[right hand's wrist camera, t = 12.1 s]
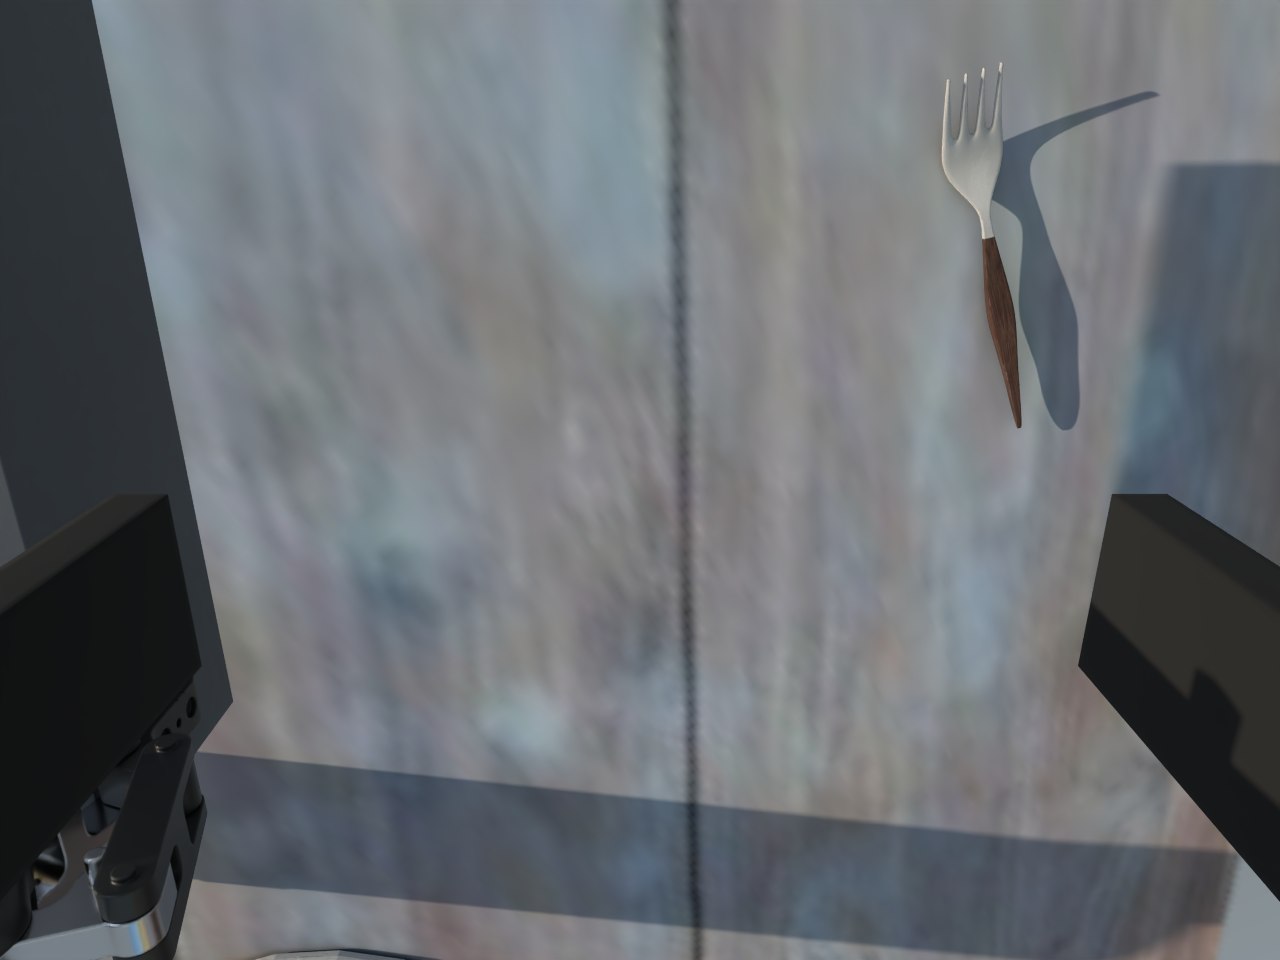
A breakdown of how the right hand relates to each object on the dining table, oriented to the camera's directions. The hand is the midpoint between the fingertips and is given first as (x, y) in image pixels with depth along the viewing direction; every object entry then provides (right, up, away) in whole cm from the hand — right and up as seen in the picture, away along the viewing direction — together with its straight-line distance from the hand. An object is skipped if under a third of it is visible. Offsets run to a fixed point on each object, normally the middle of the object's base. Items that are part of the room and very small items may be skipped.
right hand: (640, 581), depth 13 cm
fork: (+16, +11, +27) cm, 33 cm away
